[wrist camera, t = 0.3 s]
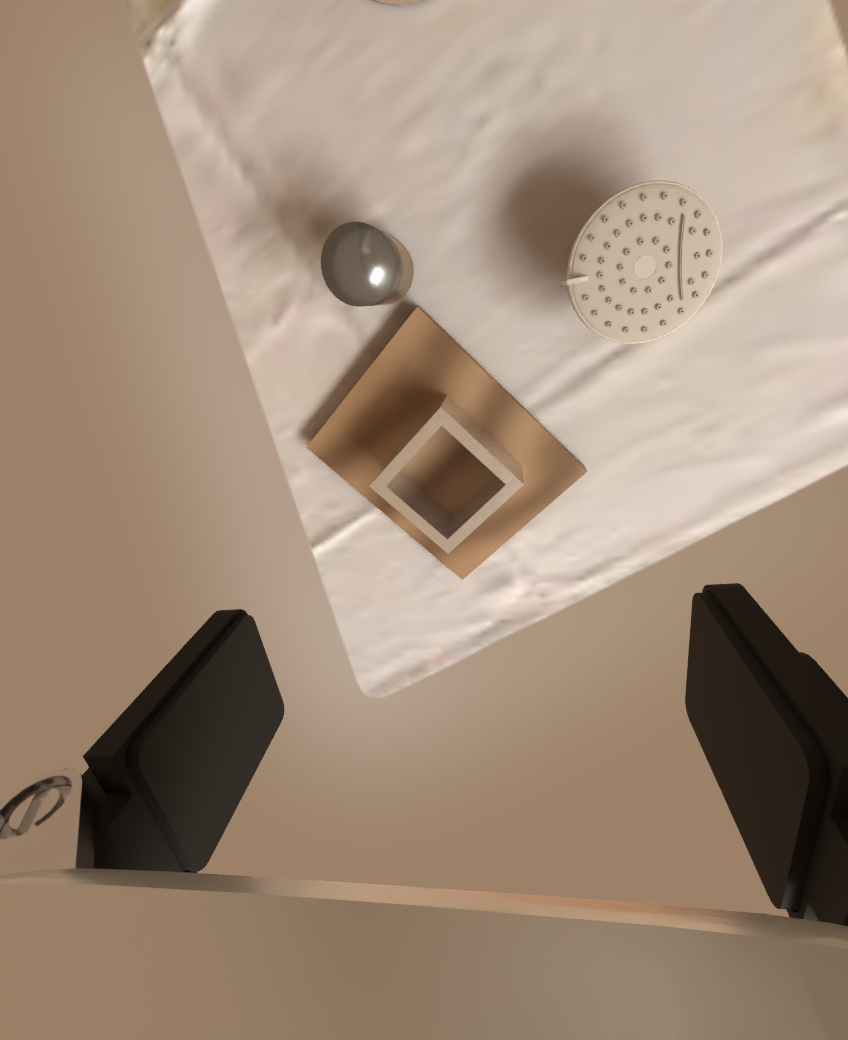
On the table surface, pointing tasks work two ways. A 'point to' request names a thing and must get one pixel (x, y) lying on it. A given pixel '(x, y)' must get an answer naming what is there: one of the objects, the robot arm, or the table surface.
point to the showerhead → (644, 262)
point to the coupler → (365, 265)
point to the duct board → (444, 447)
